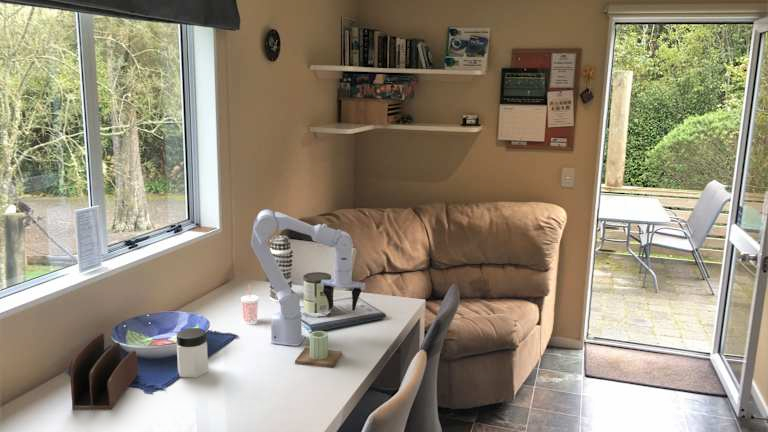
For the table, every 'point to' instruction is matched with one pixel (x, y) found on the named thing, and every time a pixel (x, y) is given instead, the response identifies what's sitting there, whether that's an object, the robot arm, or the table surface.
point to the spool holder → (327, 362)
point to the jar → (192, 352)
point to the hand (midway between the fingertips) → (342, 308)
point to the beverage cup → (250, 308)
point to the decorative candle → (281, 259)
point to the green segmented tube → (319, 345)
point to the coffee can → (315, 292)
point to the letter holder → (100, 375)
